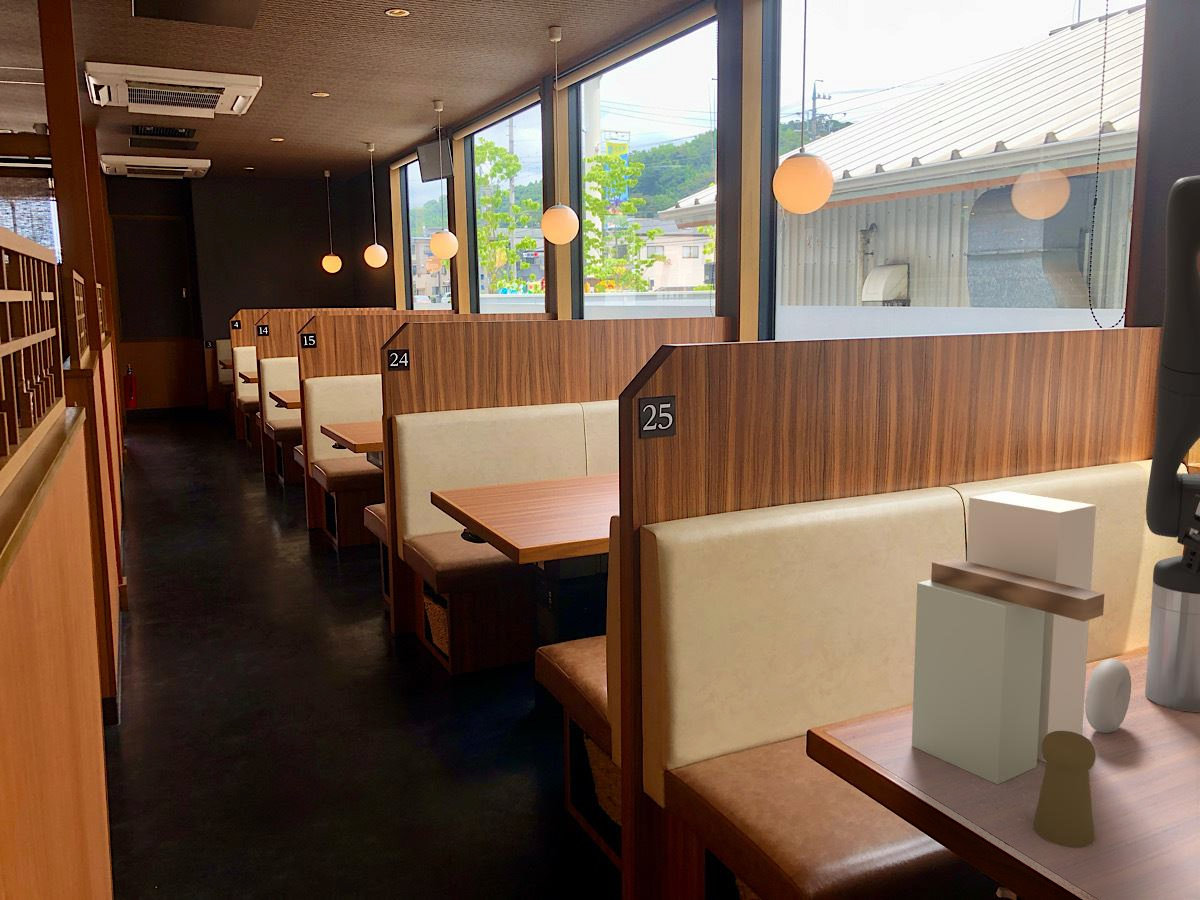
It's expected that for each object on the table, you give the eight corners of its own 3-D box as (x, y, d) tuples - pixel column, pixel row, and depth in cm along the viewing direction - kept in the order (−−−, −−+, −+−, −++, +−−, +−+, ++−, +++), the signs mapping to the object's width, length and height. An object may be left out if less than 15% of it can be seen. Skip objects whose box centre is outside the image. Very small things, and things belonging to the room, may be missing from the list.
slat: (931, 581, 119) (931, 562, 119) (950, 576, 121) (951, 557, 121) (1083, 621, 103) (1084, 599, 102) (1103, 615, 105) (1104, 593, 105)
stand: (1081, 746, 121) (1096, 505, 117) (997, 784, 111) (1010, 523, 107) (995, 713, 131) (1005, 490, 127) (911, 745, 122) (919, 506, 117)
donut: (1107, 747, 121) (1111, 673, 119) (1079, 738, 123) (1083, 666, 122) (1132, 723, 128) (1137, 653, 126) (1105, 716, 130) (1109, 647, 129)
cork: (1108, 840, 99) (1114, 743, 98) (1064, 852, 97) (1070, 752, 96) (1062, 813, 105) (1068, 720, 103) (1020, 823, 103) (1025, 729, 101)
